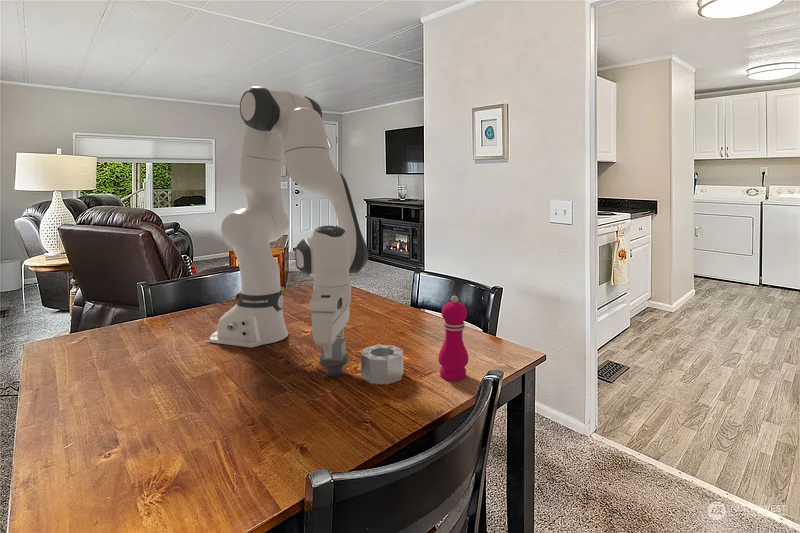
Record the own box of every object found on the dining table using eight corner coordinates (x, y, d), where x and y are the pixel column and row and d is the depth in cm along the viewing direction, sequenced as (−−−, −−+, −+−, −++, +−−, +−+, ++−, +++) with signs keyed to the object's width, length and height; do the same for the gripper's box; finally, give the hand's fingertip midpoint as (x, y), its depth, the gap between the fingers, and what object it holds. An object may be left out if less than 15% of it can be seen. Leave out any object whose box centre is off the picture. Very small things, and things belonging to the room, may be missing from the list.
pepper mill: (435, 370, 116) (437, 292, 112) (464, 369, 116) (466, 291, 113) (440, 382, 109) (442, 300, 105) (471, 381, 109) (473, 299, 106)
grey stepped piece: (316, 378, 111) (315, 345, 110) (324, 366, 118) (323, 335, 116) (344, 379, 110) (344, 347, 109) (351, 368, 117) (350, 337, 116)
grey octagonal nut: (358, 383, 109) (358, 358, 107) (366, 366, 118) (366, 344, 117) (399, 385, 107) (399, 360, 106) (404, 368, 117) (404, 345, 116)
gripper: (331, 284, 121) (332, 335, 124) (306, 305, 101) (308, 365, 104) (354, 285, 120) (355, 336, 123) (334, 306, 100) (336, 366, 103)
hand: (334, 349), depth 113 cm, fingers open, 8 cm apart
